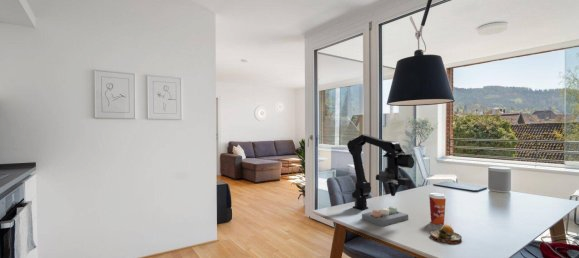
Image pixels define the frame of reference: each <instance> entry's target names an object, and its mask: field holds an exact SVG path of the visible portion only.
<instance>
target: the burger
mask: <svg viewBox="0 0 579 258" xmlns="http://www.w3.org/2000/svg"><path fill="white" fill-rule="evenodd" d="M441 227H442V228H440V229H433V230H431V231H430V232H429V235H430V236H431V239H432V238H433V239H432V240H434V241H436V239H437V241H438V242H439V243H442V244H445V243H446V244H447V243H449V244H450V245H455V244H456V245H457V244H461V243H462V242H463V240H462V237H463V236H462V235H461V234H459V233H456V232H455V231H454V229H453V227H452V226H451V225H448V224H443V225H442V226H441Z"/></svg>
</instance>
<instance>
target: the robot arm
mask: <svg viewBox="0 0 579 258" xmlns="http://www.w3.org/2000/svg"><path fill="white" fill-rule="evenodd" d="M366 143H367V144H369V145H373V146H375V147H377V148H380V149H382V150H383V152H385V153H384V154H383V157H385V158H386V167H385V168H384V171H382V172H381V173H379V174H376V175H375V180H376V181H380V182H383V184H385V185H386V186H387V188H388V190H389V193H390V196H391V197H395V196H396V194H397V191H398V190H399V188H400V187H401V186H404V187H405V186H411V185H413V184H412V183H413V181H412V179H411V178H407V177H402V178H401V175H400V172H399V171H401V168H405V169H406V168H407V169H412V168H414V166H415V160H414V157H413V154H411V153H410V154H409V153H407V154H406V153H405V151H404V150H403V148H402V147H401V144H400V142H398V141H392V140H384V139H382V138H381V139H380V138H378V137H375V136H371V135H369V134H367V133H366V134H364V133H362V134H361V135H359V136H358V137H355V138H353V139H352V140H349V141H348V142H347V143H346V145H347V150H348V152H349V154H350V155H351V156H352V157H351V158H352V160H353V167H354V168H353V169H354V172H355V177H356V178H355V179H356V182H355V190H354V191H353V192H352V193H351V196H352V198H353V199H354V205H353V206H352V208H354V209H357V210H359V211H360V210H366V209H369V207H368V206H367V205H368V203H367V201H368V200H367V198H368V197H369V196H370V194H371V191H372V187H371V181H367V179H366V174H365V170H364V164H363V160H362V152H363V146H365V145H366Z"/></svg>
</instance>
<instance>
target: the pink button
mask: <svg viewBox="0 0 579 258" xmlns="http://www.w3.org/2000/svg"><path fill="white" fill-rule="evenodd" d="M379 210H380V209H378V210H377V209H373V210H372V211H371V212H372V217H374V218H381V211H379Z"/></svg>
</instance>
